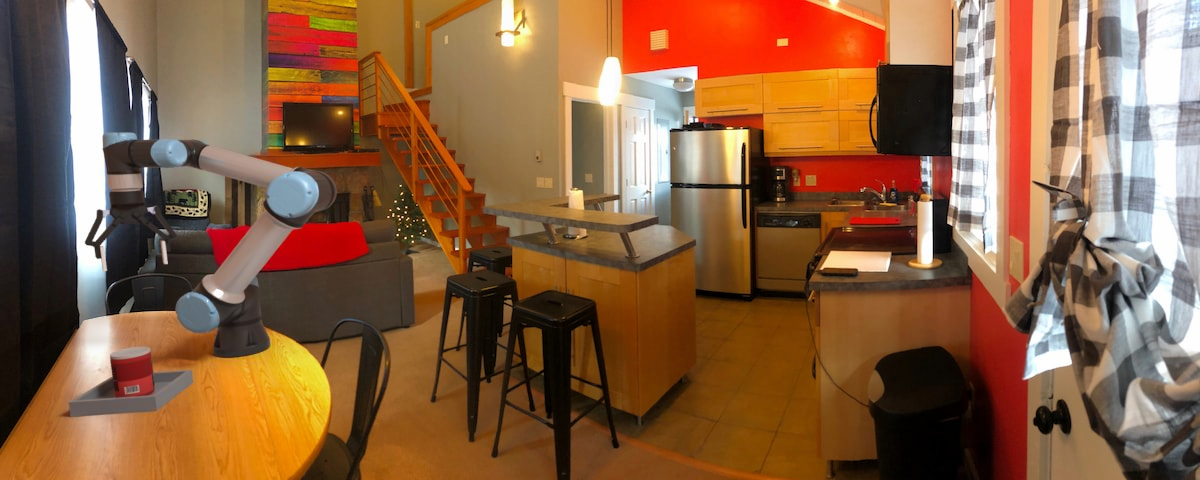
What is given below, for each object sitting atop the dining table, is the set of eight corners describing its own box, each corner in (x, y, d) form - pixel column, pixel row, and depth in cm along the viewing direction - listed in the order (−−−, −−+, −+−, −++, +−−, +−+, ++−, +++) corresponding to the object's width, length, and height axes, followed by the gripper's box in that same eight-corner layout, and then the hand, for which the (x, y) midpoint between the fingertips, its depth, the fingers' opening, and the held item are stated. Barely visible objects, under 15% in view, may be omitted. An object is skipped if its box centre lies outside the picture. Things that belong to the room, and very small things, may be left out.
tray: (193, 382, 164) (191, 369, 163) (156, 410, 146) (155, 396, 146) (117, 387, 161) (115, 374, 160) (70, 417, 143) (68, 402, 143)
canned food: (163, 390, 156) (157, 347, 154) (130, 402, 148) (124, 358, 147) (141, 387, 158) (135, 345, 157) (107, 399, 151) (101, 355, 149)
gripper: (178, 187, 181) (186, 259, 184) (65, 192, 165) (76, 271, 168) (182, 188, 176) (191, 262, 179) (66, 193, 159) (78, 275, 162)
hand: (135, 267), depth 173 cm, fingers open, 13 cm apart
